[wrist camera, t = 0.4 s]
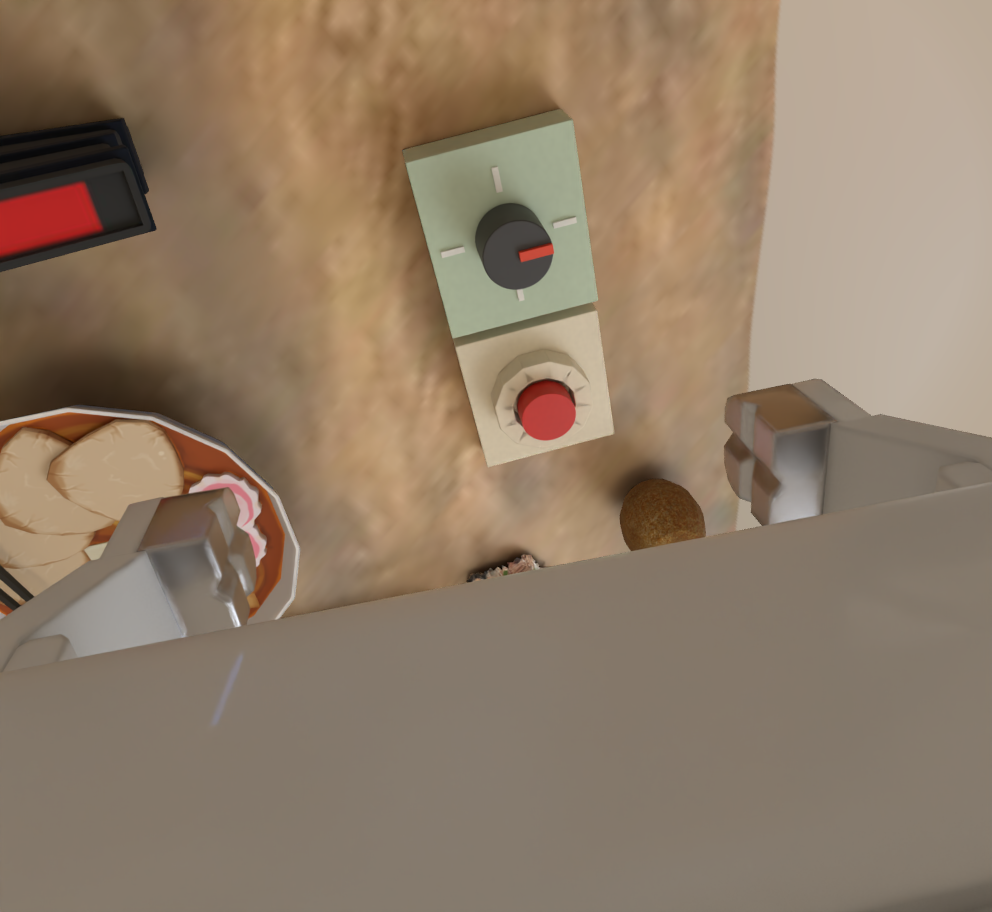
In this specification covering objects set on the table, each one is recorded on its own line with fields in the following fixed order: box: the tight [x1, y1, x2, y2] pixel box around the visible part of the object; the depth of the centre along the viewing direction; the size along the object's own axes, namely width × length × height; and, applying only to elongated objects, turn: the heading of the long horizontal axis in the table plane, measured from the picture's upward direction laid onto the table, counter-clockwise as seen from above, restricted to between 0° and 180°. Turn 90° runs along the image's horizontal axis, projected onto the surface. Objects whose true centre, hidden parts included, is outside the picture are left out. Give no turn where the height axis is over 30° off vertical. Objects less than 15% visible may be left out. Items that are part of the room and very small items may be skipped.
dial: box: [475, 203, 554, 290], centre depth 44 cm, size 4×4×4 cm
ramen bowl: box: [0, 405, 300, 625], centre depth 52 cm, size 25×23×8 cm
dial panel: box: [402, 109, 598, 338], centre depth 47 cm, size 11×10×3 cm
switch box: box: [453, 302, 614, 467], centre depth 53 cm, size 10×10×4 cm
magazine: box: [0, 118, 156, 272], centre depth 38 cm, size 4×13×15 cm, turn 96°
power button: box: [517, 381, 576, 441], centre depth 51 cm, size 4×4×2 cm
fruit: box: [620, 479, 706, 551], centre depth 59 cm, size 6×6×8 cm
